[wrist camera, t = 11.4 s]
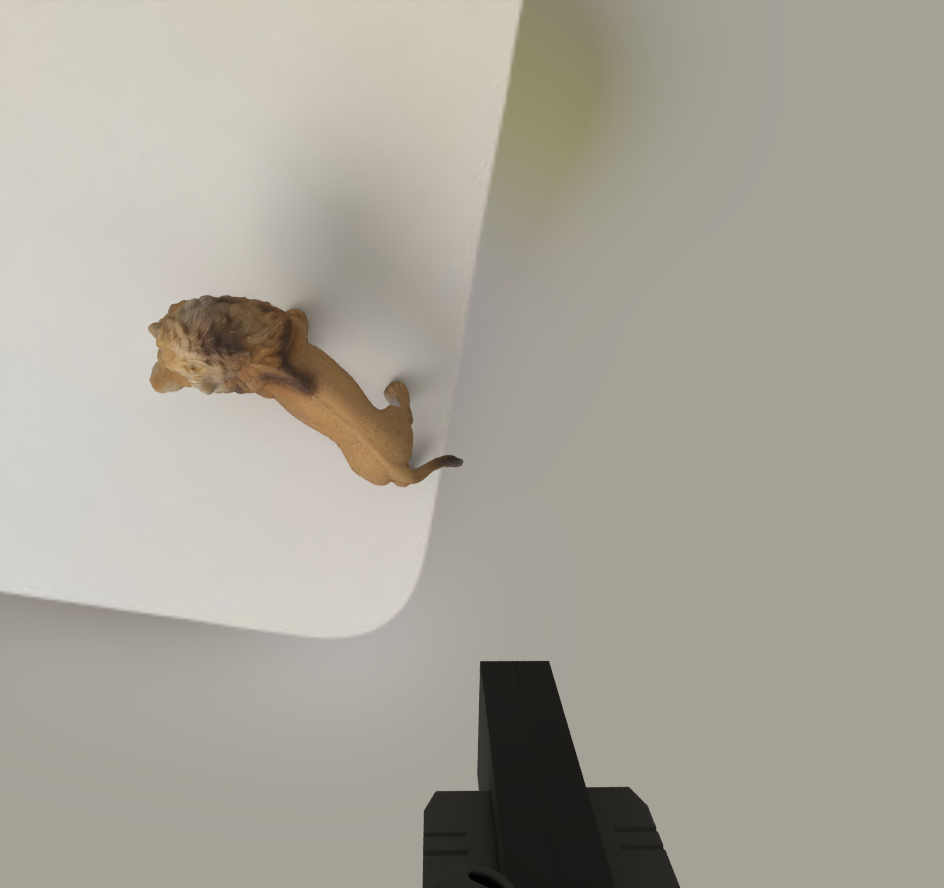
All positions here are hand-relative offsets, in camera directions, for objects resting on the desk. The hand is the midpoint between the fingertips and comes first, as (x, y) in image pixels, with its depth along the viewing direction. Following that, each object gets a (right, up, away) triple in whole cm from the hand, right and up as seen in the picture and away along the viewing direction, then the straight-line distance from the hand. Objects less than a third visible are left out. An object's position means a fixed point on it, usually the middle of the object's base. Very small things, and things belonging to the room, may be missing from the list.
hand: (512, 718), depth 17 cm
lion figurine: (-8, +9, +22) cm, 26 cm away
